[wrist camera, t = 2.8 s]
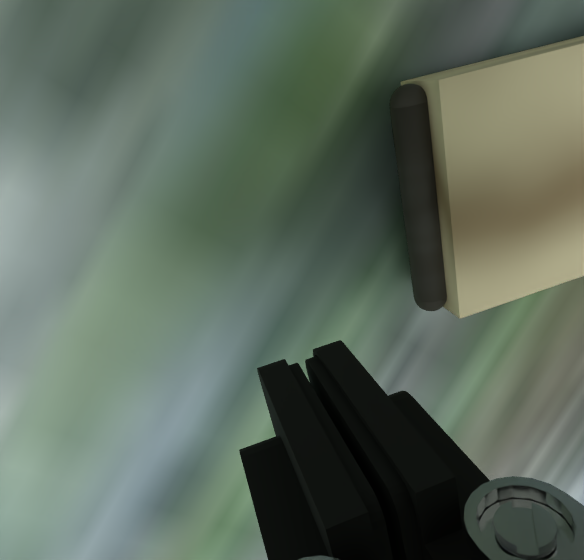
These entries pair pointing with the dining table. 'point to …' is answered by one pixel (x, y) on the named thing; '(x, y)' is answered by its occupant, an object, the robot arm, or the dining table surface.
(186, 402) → the dining table surface
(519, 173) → the beige rectangular block
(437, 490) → the robot arm
